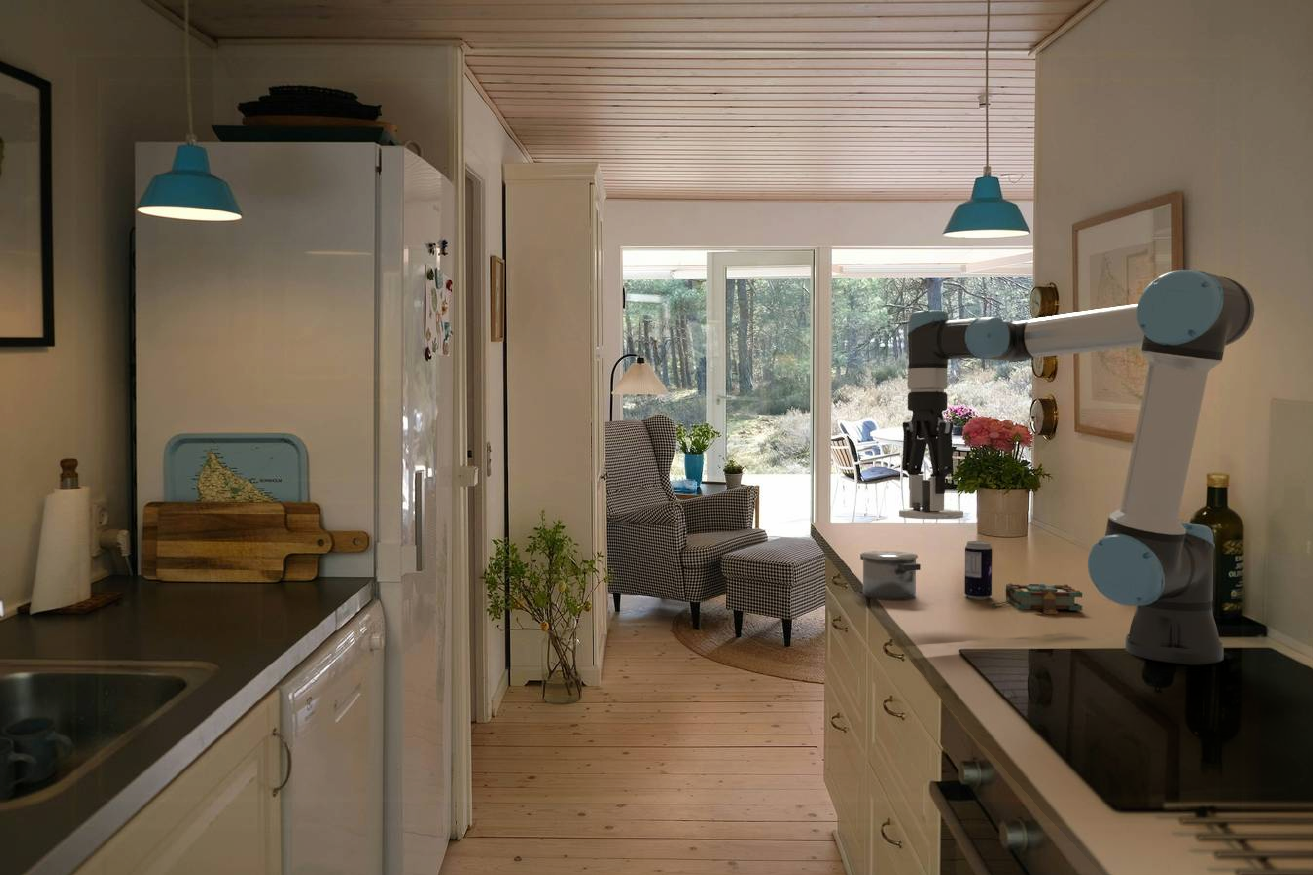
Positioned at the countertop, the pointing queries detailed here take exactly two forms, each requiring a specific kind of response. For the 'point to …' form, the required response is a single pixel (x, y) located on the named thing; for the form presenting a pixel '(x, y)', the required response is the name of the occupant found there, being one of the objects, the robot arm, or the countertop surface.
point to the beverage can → (978, 570)
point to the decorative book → (1042, 597)
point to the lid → (928, 508)
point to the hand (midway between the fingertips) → (926, 508)
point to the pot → (889, 575)
